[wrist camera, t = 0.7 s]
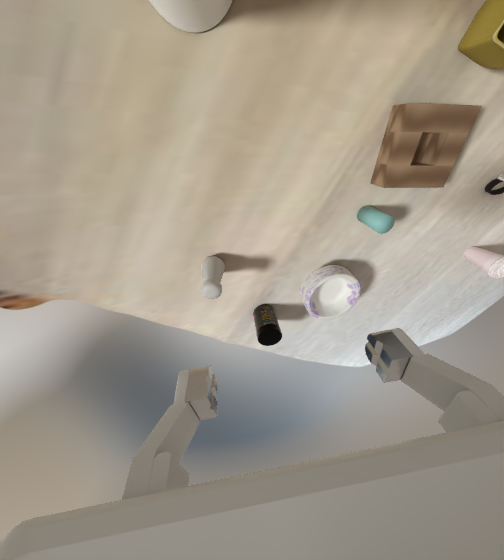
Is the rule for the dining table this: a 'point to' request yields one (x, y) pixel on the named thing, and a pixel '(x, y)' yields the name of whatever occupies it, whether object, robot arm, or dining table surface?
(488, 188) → the watch
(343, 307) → the paper bowls
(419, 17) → the dining table surface
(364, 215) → the dowel
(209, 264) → the salt shaker
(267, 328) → the supplement container
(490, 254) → the smoothie
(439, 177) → the bore block
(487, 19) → the flower pot
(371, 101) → the dining table surface
